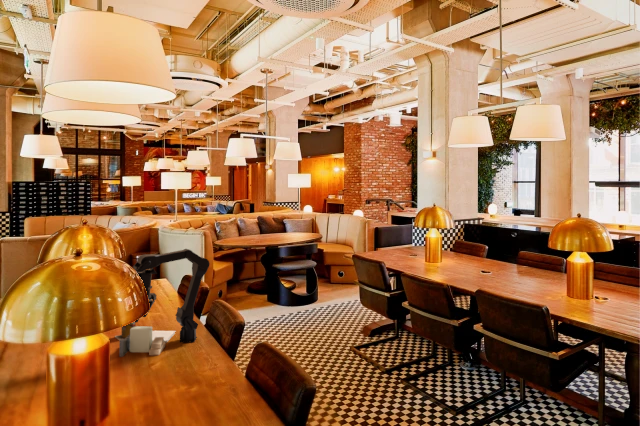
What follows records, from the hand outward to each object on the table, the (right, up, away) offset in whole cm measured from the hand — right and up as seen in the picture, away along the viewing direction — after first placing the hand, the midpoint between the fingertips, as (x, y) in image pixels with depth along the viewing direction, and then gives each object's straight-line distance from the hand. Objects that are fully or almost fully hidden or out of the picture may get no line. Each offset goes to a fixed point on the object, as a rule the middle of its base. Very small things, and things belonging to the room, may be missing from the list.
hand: (140, 319), depth 182 cm
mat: (0, -13, +17) cm, 21 cm away
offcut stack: (+7, -14, 0) cm, 16 cm away
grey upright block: (0, -14, 0) cm, 13 cm away
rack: (-5, -13, 0) cm, 14 cm away
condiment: (-14, -13, +16) cm, 25 cm away
